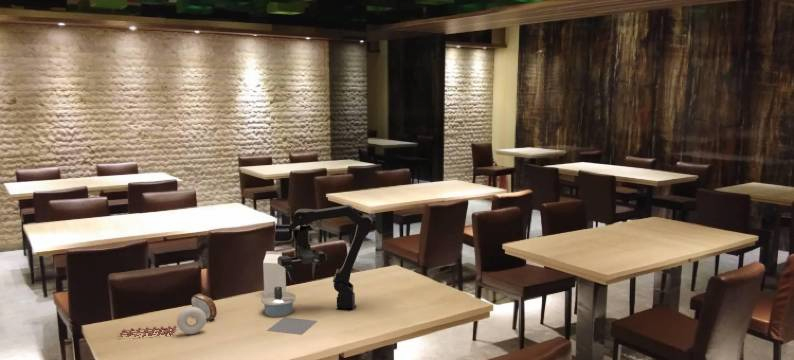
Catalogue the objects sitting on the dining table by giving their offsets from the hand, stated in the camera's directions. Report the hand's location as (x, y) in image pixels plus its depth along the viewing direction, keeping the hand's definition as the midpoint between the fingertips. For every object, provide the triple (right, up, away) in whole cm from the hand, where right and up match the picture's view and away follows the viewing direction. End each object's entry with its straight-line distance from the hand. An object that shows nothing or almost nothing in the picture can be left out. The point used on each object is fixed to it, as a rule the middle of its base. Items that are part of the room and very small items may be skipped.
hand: (302, 279), depth 245 cm
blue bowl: (-9, -13, -2) cm, 16 cm away
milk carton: (-15, -10, +21) cm, 27 cm away
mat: (-1, -15, -16) cm, 22 cm away
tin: (-38, -14, -6) cm, 40 cm away
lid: (-9, -7, -2) cm, 12 cm away
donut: (-37, -16, -23) cm, 46 cm away
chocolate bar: (-53, -17, -22) cm, 60 cm away
